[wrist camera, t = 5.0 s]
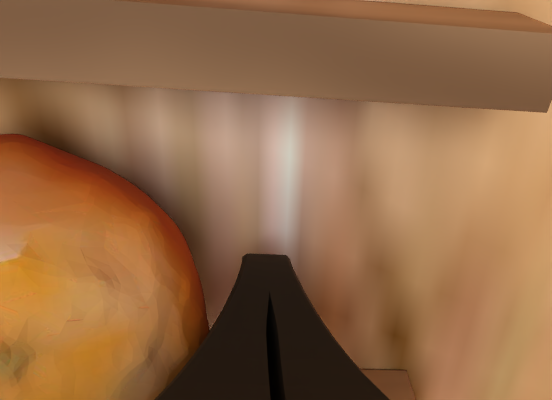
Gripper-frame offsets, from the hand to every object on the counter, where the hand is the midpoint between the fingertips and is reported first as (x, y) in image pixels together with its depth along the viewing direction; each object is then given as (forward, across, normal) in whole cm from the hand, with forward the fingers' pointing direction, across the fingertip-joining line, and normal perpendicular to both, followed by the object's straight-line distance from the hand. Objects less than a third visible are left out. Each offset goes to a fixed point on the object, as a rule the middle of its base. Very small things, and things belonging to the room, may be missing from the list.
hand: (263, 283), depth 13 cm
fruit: (+2, +6, 0) cm, 6 cm away
